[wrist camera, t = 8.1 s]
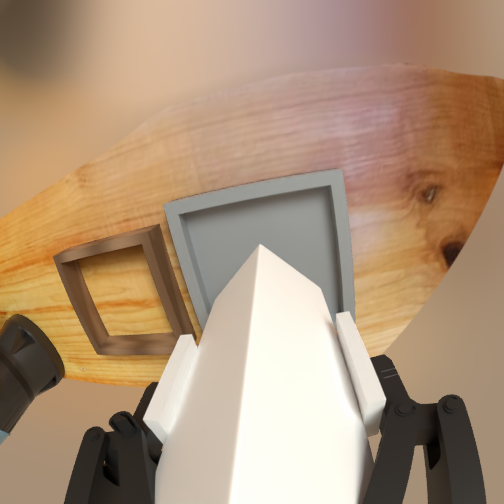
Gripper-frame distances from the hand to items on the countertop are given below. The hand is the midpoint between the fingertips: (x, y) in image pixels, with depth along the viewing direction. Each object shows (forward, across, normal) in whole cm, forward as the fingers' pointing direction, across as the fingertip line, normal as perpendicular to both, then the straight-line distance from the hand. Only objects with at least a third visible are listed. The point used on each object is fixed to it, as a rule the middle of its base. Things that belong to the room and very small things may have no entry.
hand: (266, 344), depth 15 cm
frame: (+13, -17, -1) cm, 21 cm away
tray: (+13, 0, 0) cm, 13 cm away
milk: (+7, 0, 0) cm, 7 cm away
